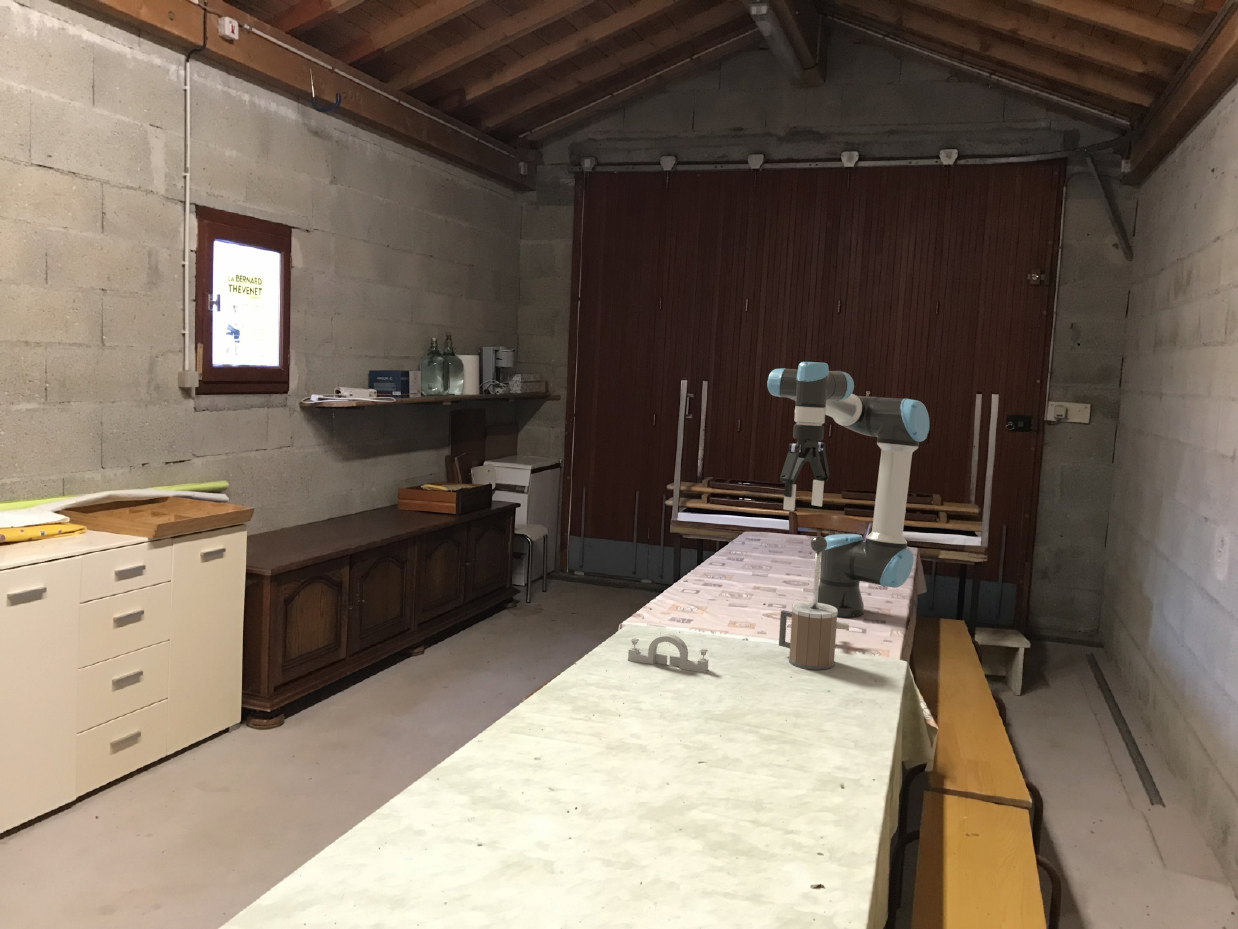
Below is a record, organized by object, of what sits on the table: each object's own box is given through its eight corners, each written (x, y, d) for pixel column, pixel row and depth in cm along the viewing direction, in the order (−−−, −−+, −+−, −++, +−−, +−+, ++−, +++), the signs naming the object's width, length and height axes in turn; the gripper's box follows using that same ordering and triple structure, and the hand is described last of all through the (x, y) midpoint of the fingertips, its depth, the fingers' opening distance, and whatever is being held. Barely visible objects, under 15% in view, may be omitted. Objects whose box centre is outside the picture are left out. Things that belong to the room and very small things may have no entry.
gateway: (707, 672, 229) (709, 639, 228) (705, 675, 227) (706, 642, 226) (631, 659, 236) (632, 628, 235) (627, 662, 234) (629, 630, 233)
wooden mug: (790, 649, 247) (793, 597, 245) (841, 663, 238) (845, 608, 236) (768, 659, 239) (771, 604, 237) (820, 673, 230) (824, 617, 228)
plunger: (807, 616, 242) (812, 531, 239) (836, 623, 237) (841, 536, 234) (791, 623, 235) (796, 535, 233) (820, 629, 230) (826, 540, 228)
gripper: (821, 422, 250) (815, 502, 253) (769, 423, 232) (763, 509, 234) (846, 424, 245) (840, 505, 248) (795, 425, 227) (789, 514, 229)
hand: (803, 507), depth 241 cm, fingers open, 13 cm apart
